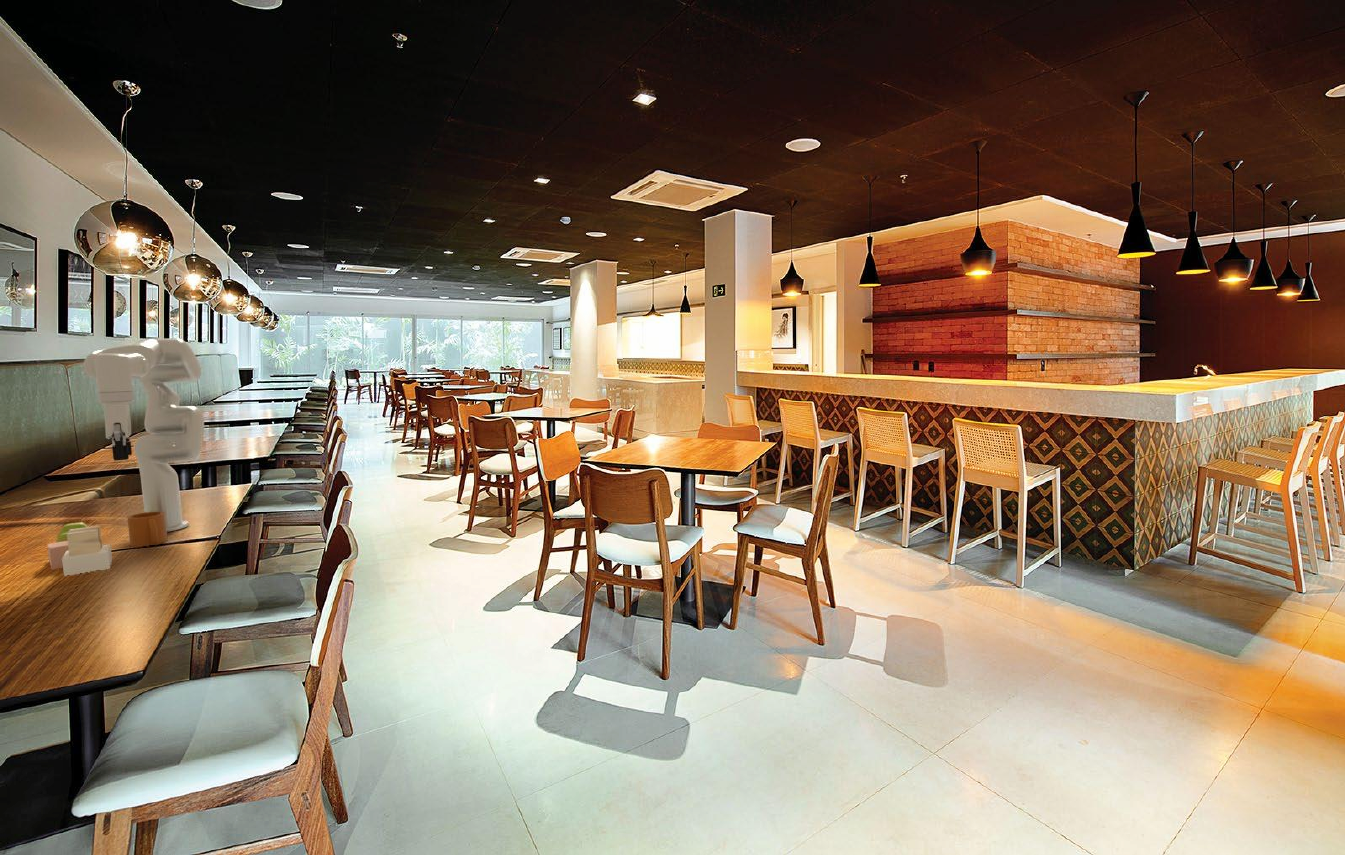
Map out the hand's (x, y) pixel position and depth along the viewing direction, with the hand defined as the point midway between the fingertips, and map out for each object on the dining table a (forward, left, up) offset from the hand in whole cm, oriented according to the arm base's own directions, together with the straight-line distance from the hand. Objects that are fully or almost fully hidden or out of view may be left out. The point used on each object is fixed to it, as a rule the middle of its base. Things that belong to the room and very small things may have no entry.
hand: (123, 457), depth 182 cm
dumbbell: (-14, -14, -29) cm, 35 cm away
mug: (-9, +3, -29) cm, 30 cm away
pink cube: (+1, -14, -28) cm, 32 cm away
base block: (+9, -9, -29) cm, 31 cm away
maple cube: (+9, -9, -24) cm, 27 cm away
